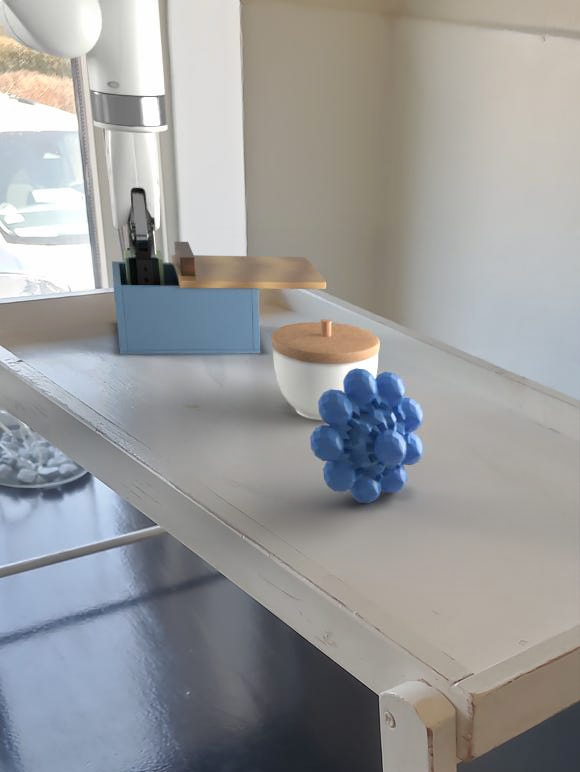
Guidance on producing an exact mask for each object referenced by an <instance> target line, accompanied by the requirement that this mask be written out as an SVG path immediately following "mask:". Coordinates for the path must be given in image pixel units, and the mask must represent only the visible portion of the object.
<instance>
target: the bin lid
mask: <svg viewBox="0 0 580 772" xmlns="http://www.w3.org/2000/svg"><path fill="white" fill-rule="evenodd" d="M170 263H172V265H173V268H174V271H175V274H176V277H177V280H178V283H179V287H180V288H242V289H258V290H259V289H260V290H262V289H263V290H266V289H267V290H275V289H276V290H326V289H327V282H326V280H325V279H324V277H322V275H321V274H320V272H319V271H318V270H317V269H316V268H315V266H314V265H313V263H312V262H311V261H310V260H309V259H308V257H306V256H260V255H259V256H255V255H206V254H205V255H204V254H203V255H199V254H194V253H193V250H192V248H191V245H190V243H189V241H174V254H171V255H170Z"/></svg>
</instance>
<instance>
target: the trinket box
mask: <svg viewBox="0 0 580 772" xmlns="http://www.w3.org/2000/svg"><path fill="white" fill-rule="evenodd" d="M380 344H381V342H380V339H379V337H378V336H377V335H376V334H375V333H373V332H371V331H370V330H367V329H364V328H361V327H358V326H354V325H349V324H345V323H337V322H332V319H330V318H329V319H328V318H323V319H320V321H309V322H297V323H292V324H288V325H287V324H286V325H284V326H281V327H279V328H277V329H275V330H274V331H273V332H272V334H271V347H272V359H273V362H272V363H273V370H274V374H275V379H276V383H277V386H278V388H279V390H280V392H281V394H282V396H283V397H284V399H285V400H286V401H287V403H288V404H289V405H291V406H292V407H293V408H294V409H295V411H296V413H297V414H299V415H300V416H302V417H304V418H307V419H310V420H316V421H323V420H322V418H321V416H320V414H319V406H318V401H319V399H320V397H321V396H322V394H323V393H324V392H326V391H328V390H330V389H333V390H341V391H342V392H344V383H343V380H344V378H345V376H346V375H347V373H348V372H349V371H351V370H353V369H355V368H359V369H366V370H367V371H369V372H370V373H371V374H373V376H374V378H375V379H376V377H377V373H378V365H379V352H380V347H381V345H380Z"/></svg>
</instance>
